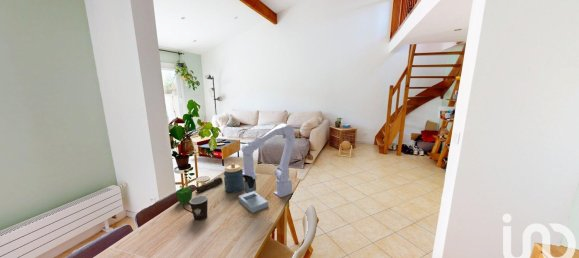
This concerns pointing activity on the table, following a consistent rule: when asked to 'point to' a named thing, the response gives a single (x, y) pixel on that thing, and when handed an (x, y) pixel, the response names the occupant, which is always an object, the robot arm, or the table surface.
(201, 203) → the coffee mug
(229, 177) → the canister
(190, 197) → the bell pepper
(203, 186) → the hand tool
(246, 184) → the tall dark grey prism
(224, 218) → the table surface
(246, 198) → the slotted pale blue plate
